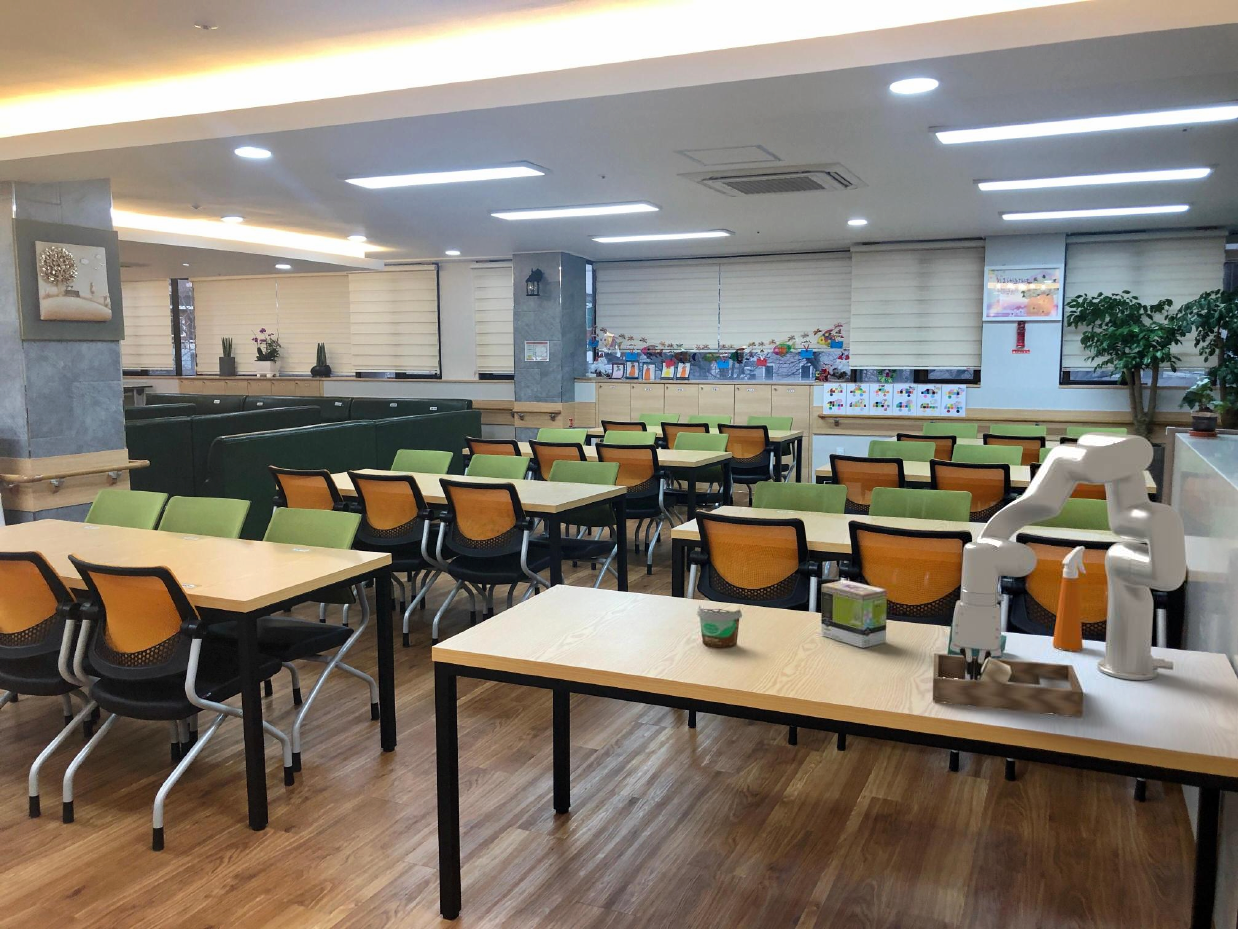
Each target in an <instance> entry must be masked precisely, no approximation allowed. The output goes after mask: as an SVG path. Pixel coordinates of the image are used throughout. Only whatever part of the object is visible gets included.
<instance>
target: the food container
mask: <svg viewBox="0 0 1238 929" xmlns="http://www.w3.org/2000/svg"><path fill="white" fill-rule="evenodd" d="M696 615H697V617H699V623H700V631H701V642H703V643H702V645H703V644H704V645H705V647H707V648H710V649H717V650H719V649H720V650H721V649H725V650H726V649H731V648H734V647H736V646H737V644H738V636H739V628H740V626H739V625H740V618H742V617H743V614H742V611H741V608H740V609H737V610H735V611H733V610H732V611H731V610H726V609H723V608H722V609H721V608H713V609H710V608H702V607H701V605H699V606H698V609H697V612H696ZM704 645H703V646H704Z"/></svg>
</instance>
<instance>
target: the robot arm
mask: <svg viewBox="0 0 1238 929" xmlns="http://www.w3.org/2000/svg"><path fill="white" fill-rule="evenodd" d="M1153 458H1154V448H1153V445H1152V444H1151V442H1150V441H1148V439H1146V437H1143V436H1140V435H1134V434H1126V433H1125V434H1123V433H1116V432H1115V433H1114V432H1106V431H1105V432H1104V431H1092V432H1088V433H1084V434H1082V435H1081V436H1080V437H1079V438H1078V439H1077V442H1076V444H1075V443H1061V444H1057V445H1055V446H1054V447H1053V448H1051V449H1050V451H1049V452H1048V454H1047V455H1046V456H1045V458H1044V460H1043V462H1042V464H1041V465H1040V467H1039V468H1038V470H1037V472H1036V473H1035V475H1034V477H1033V478H1032V480H1031V482H1029V485H1028V487H1027V488H1026V489H1025V491H1024V493H1023V494H1022V495H1021V496H1020V497H1018V498H1017V499H1015V500H1013V501H1011V502H1010V503H1009V504H1007V505H1006V506H1004V507H1003V508H1002V509H1000V510H999V511H997V512H996V513H995V514H994V515H993V516H992V517H991V518H990V519H989V520H988V521H987V523H986V524H985V526H984V528H983V529H982V531H981V533H980V534H979V535H978V537H977V540H976V541H971V542H968V543H966V544H964V547H963V552H962V567H961V586H960V600H957V601H956V603H955V608H954V611H953V618H952V623H953V626H952V642H951V645H950V649H951V650H953V651H956V652H959V653H961V654H962V655H963V656H964V657H965V659H966V660H967V674H968V675H970V680H972V679H973V678H974V680H978V676H981V669H982V663H983V662H984V661H985V660H986V659H987V658H989V657H990V656H1000V655H1001V649H1000V644H1001V635H1002V613H1001V606H1000V604H998V603H999V602H1004V600H1005V595H1002V594H999V593H998V586H999V577H1000V576H1003V577H1004V576H1006V577H1013V578H1014V577H1015V578H1018V577H1019V578H1020V577H1021V578H1022V577H1025V576H1027V575H1029V574H1030V573H1032V572H1033V571H1034V570H1035V569H1036V566H1037V564H1038V562H1037V561H1038V558H1037V555H1036V552H1035V551H1034V549H1032V547H1030V546H1028V545H1026V544H1024V543H1021V542H1017V541H1014V540H1011V538H1012V537H1013V536H1014V534H1015V533H1017V532H1018V531H1019V530H1020V529H1022V528H1024V527H1026V526H1029V525H1031V524H1034V523H1037V522H1042V521H1046V520H1048V519H1052V518H1055V517H1056V516H1058V515H1059V514H1060V513H1061V511H1062V509H1063V508H1064V507H1065V505H1066V503H1067V501H1068V499H1069V498H1070V497H1071V495H1072V493H1073V492H1074V490H1075V488H1076V487H1077V486H1078V485H1079V483H1080V484H1087V485H1093V486H1095V485H1104V489H1105V496H1106V498H1105V499H1106V507H1107V508H1106V509H1107V520H1108V526H1109V529H1110V531H1111V532H1112V533H1113V534H1114V535H1115V536H1117V537H1120V538H1123V539H1127V540H1131V541H1120V542H1116V543H1114V544H1112V545H1111V546H1110V547H1109V548H1108V550H1107V551H1106V554H1105V557H1104V567H1105V573H1106V579H1107V592H1108V593H1107V610H1106V615H1107V616H1106V632H1105V633H1106V634H1105V651H1104V652H1105V654H1104V655H1105V656H1104V657H1105V658H1104V659H1102V660H1100V661H1098V662H1097V669H1098V671H1100V672H1101V673H1103V674H1105V675H1108V676H1111V677H1114V678H1118V679H1122V680H1123V679H1125V680H1132V681H1147V680H1153V679H1156V678H1157V677H1158V669H1164V670H1171V671H1173V670H1174V662H1173V661H1171V660H1165V658H1155V657H1153V655H1152V654H1151V653H1152V636H1153V619H1154V618H1153V617H1154V599H1153V596H1152V592H1151V589H1154V590H1158V591H1162V592H1171V591H1175V590H1177V589H1178V588H1180V586H1182V584H1183V583H1184V581H1185V578H1186V575H1187V559H1186V558H1187V556H1186V542H1185V528H1184V522H1183V519H1182V516H1181V515H1180V513H1179V512H1178V511H1177V510H1176V509H1175V508H1174V507H1173V506H1170V505H1169V504H1165V503H1160V502H1153V501H1151V500H1150V498H1149V494H1148V488H1147V479H1146V477H1145V473H1144V471H1146V470H1147V468H1148V467H1149V466H1150V465H1151V464H1152V461H1153ZM1134 541H1136V542H1134ZM1138 542H1140V543H1138ZM1143 543H1144V544H1143ZM1145 543H1146V544H1145ZM971 649H979V653H978V657H976V660H975V666H974V658H973V656H972V651H971ZM1001 656H1002V655H1001Z"/></svg>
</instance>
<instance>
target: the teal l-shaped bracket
mask: <svg viewBox="0 0 1238 929" xmlns="http://www.w3.org/2000/svg"><path fill="white" fill-rule="evenodd" d="M952 626H953V622H952V623H951V624H950V628H949V629H950V632H949V639H948V646H947V653H946V654H948V655H960V656H963V655H962V654H961V653H959V652H956V651H953V650H951V649H950V645H951V642H952ZM1006 645H1007V635H1004V634H1001V644H1000V649H1001V655H1000V656H990V658H994V659H1001V657H1002V655H1003V653H1004V652H1005V650H1006ZM971 651H972V656H973V657H978V653H979V649H971Z"/></svg>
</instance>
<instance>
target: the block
mask: <svg viewBox="0 0 1238 929" xmlns="http://www.w3.org/2000/svg"><path fill="white" fill-rule="evenodd" d="M1010 675H1011V669H1010V666H1008V665H1006V664H1004V663H1002V662H999V661H997V660H995V659H993V658H990V657H989V658H987V659H986V661H985V663H984V665H983V667H982V669H981V676H979V681H985V682H996V683H1007V681H1008V679H1009V677H1010Z"/></svg>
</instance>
